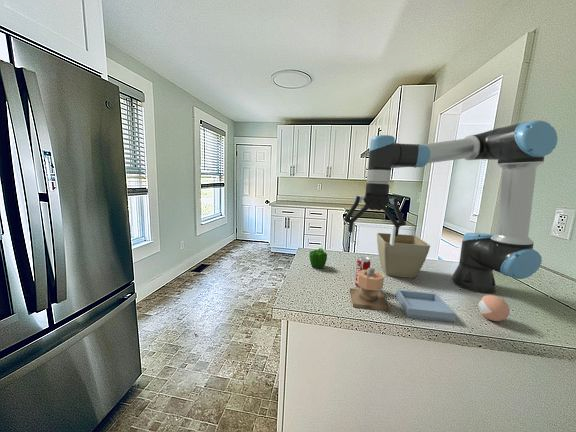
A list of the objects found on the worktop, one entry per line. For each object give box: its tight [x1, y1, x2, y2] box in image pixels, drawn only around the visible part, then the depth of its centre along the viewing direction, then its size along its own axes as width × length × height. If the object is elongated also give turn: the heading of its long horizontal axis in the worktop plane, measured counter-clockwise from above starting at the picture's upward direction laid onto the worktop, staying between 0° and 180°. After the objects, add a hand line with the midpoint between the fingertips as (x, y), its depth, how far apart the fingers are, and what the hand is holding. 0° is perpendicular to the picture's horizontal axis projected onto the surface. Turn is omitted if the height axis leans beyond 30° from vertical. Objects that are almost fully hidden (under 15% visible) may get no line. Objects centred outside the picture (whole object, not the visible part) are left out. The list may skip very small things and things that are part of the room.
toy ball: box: [478, 294, 510, 322], centre depth 79 cm, size 8×8×8 cm
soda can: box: [354, 256, 371, 289], centre depth 100 cm, size 5×5×12 cm
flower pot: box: [376, 232, 431, 279], centre depth 116 cm, size 19×19×17 cm
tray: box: [395, 288, 456, 323], centre depth 85 cm, size 14×14×3 cm
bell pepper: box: [309, 247, 328, 269], centre depth 120 cm, size 8×8×10 cm
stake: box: [349, 267, 390, 312], centre depth 88 cm, size 12×12×12 cm
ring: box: [357, 270, 385, 291], centre depth 88 cm, size 8×8×4 cm
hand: (371, 243), depth 87 cm, fingers open, 13 cm apart
